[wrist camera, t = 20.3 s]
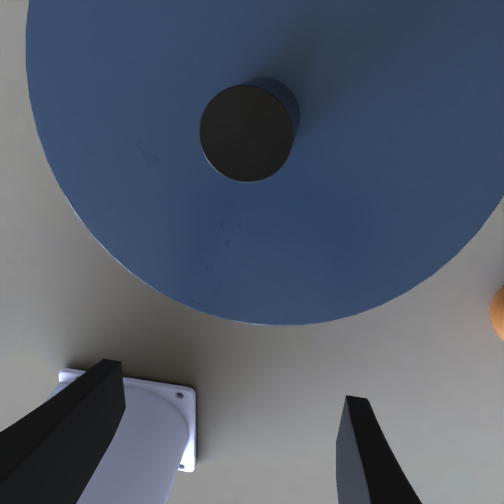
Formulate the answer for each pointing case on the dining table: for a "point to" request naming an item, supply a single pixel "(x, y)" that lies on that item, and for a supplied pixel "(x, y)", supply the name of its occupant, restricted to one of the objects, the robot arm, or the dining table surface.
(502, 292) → the drumstick
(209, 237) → the lid
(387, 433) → the dining table surface
